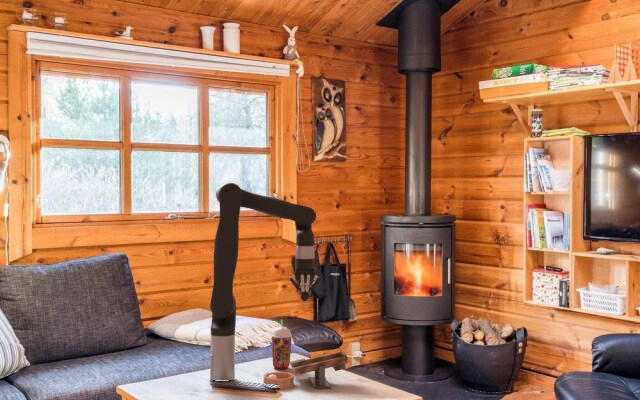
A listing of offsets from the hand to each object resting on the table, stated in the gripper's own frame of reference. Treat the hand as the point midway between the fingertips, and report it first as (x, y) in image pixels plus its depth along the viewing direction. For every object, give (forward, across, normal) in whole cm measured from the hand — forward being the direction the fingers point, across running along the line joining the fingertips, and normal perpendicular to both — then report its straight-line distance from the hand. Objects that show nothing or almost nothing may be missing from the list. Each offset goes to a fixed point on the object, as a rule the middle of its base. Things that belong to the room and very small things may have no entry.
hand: (304, 300), depth 285 cm
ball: (+27, -14, -15) cm, 34 cm away
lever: (+24, +4, -11) cm, 27 cm away
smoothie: (+29, -8, +10) cm, 32 cm away
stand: (+29, +4, -15) cm, 33 cm away
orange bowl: (+29, -12, -15) cm, 35 cm away
